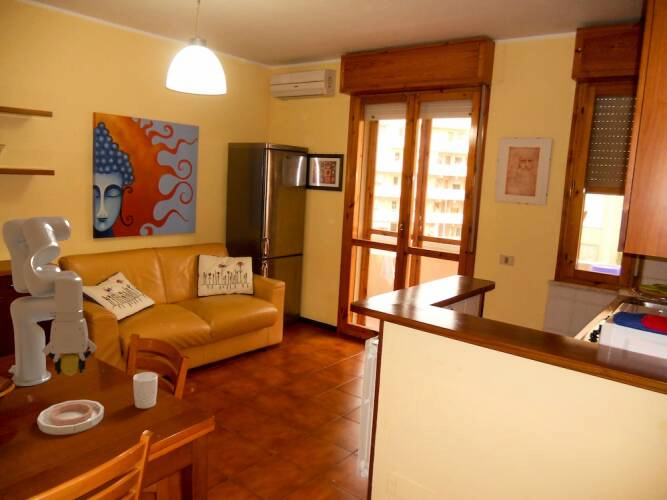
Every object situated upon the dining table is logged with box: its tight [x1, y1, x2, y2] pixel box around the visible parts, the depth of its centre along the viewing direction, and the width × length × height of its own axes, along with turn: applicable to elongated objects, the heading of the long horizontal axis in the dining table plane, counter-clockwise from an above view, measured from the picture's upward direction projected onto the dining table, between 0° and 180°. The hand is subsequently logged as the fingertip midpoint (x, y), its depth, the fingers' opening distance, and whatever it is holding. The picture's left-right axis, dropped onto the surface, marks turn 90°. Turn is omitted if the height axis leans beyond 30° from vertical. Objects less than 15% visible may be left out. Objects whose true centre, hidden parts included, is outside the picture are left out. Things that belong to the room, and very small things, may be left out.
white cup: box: [132, 371, 159, 409], centre depth 169 cm, size 8×8×10 cm
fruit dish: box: [36, 399, 105, 436], centre depth 156 cm, size 18×18×3 cm
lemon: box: [60, 353, 80, 377], centre depth 154 cm, size 6×6×8 cm
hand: (70, 371), depth 154 cm, fingers closed on lemon, 5 cm apart
